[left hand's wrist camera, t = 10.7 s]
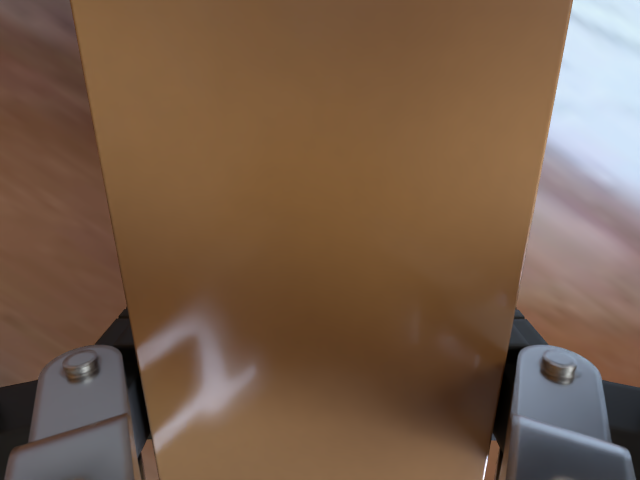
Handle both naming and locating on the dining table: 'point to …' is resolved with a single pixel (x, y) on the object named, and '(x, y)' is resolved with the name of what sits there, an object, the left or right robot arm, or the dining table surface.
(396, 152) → the box
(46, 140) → the dining table surface
